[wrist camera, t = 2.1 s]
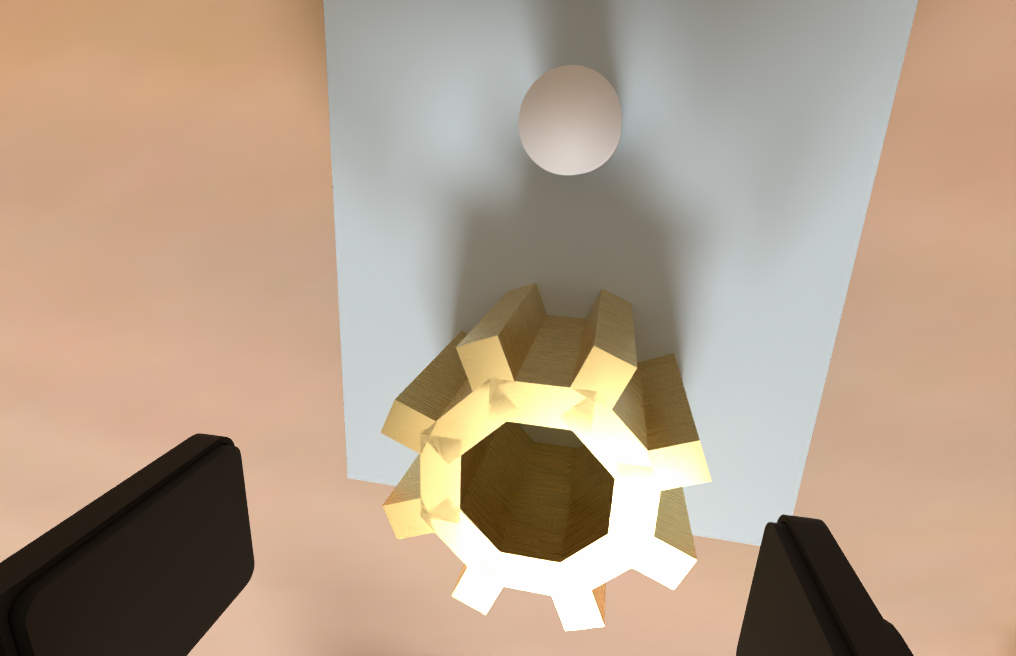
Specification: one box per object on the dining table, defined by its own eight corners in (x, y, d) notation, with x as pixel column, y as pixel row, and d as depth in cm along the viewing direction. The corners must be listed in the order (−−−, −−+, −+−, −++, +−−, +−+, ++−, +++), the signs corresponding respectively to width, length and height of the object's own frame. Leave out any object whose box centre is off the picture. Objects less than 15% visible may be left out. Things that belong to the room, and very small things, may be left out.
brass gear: (695, 296, 14) (734, 360, 9) (662, 512, 16) (679, 653, 11) (451, 274, 15) (376, 322, 11) (448, 479, 17) (384, 594, 13)
